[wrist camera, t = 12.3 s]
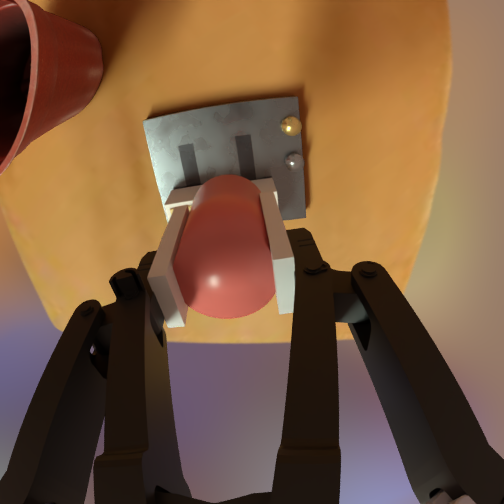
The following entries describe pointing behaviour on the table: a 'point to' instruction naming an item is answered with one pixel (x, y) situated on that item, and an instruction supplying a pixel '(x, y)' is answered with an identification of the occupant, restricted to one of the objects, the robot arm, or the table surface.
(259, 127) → the panel
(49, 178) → the table surface
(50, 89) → the flower pot
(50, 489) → the robot arm
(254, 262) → the lockout cap
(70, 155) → the table surface
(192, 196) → the block
